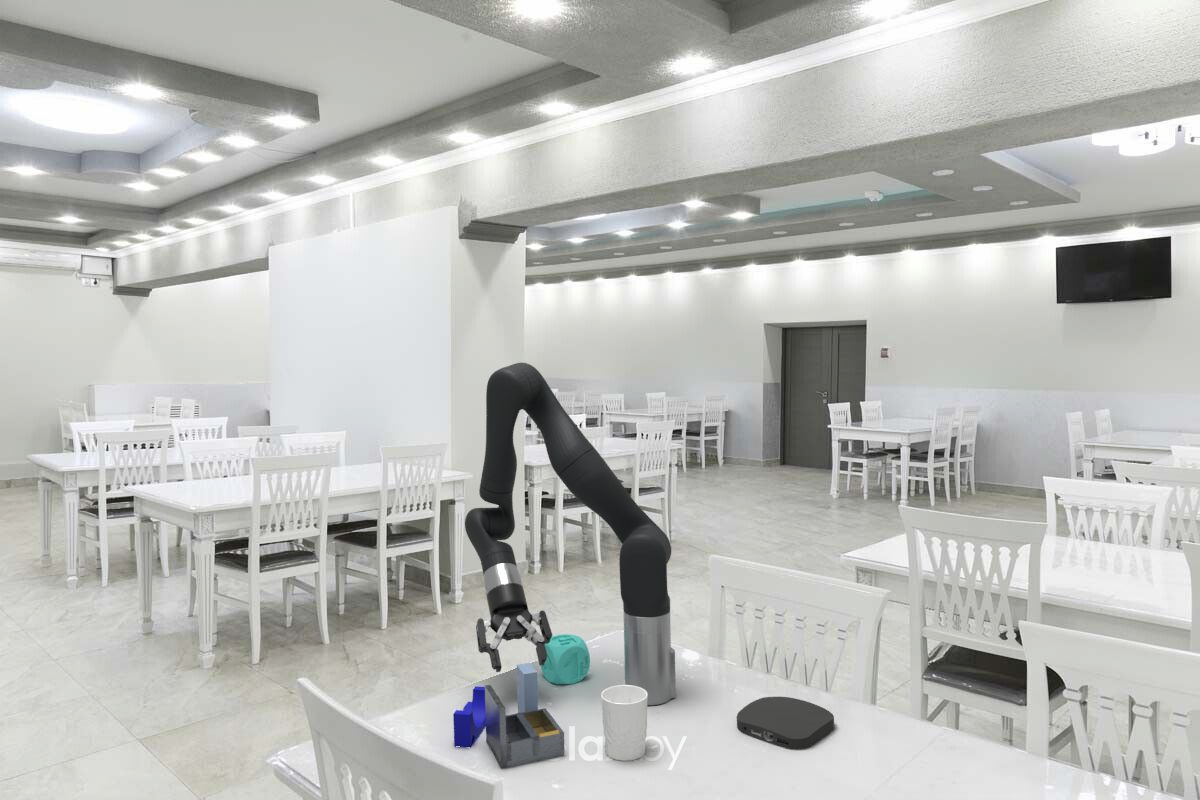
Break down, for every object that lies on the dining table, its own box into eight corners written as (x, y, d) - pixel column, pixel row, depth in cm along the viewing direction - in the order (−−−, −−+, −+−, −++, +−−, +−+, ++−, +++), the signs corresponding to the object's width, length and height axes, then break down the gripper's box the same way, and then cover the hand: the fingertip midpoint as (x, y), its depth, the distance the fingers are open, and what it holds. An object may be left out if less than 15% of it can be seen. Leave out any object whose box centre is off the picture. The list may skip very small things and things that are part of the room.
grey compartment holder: (546, 729, 146) (544, 675, 146) (564, 755, 136) (563, 697, 136) (486, 741, 142) (484, 685, 142) (501, 768, 132) (499, 709, 132)
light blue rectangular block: (530, 714, 153) (529, 662, 152) (538, 725, 148) (537, 672, 147) (517, 717, 152) (516, 664, 151) (525, 728, 147) (523, 674, 147)
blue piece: (468, 717, 152) (467, 686, 152) (491, 718, 152) (490, 687, 151) (446, 747, 141) (445, 713, 140) (470, 748, 140) (469, 714, 140)
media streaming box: (842, 726, 146) (841, 710, 146) (801, 756, 135) (801, 739, 135) (771, 704, 156) (771, 689, 156) (728, 730, 145) (728, 714, 145)
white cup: (654, 744, 140) (652, 687, 139) (641, 766, 132) (640, 706, 132) (610, 738, 142) (609, 682, 142) (596, 759, 135) (594, 700, 134)
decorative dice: (556, 688, 165) (556, 649, 164) (539, 675, 172) (538, 638, 171) (590, 679, 169) (590, 642, 168) (572, 667, 176) (571, 631, 175)
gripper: (472, 585, 158) (487, 663, 148) (542, 577, 163) (561, 652, 153) (467, 605, 163) (481, 681, 153) (535, 596, 168) (553, 670, 158)
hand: (521, 666), depth 153 cm, fingers open, 8 cm apart
